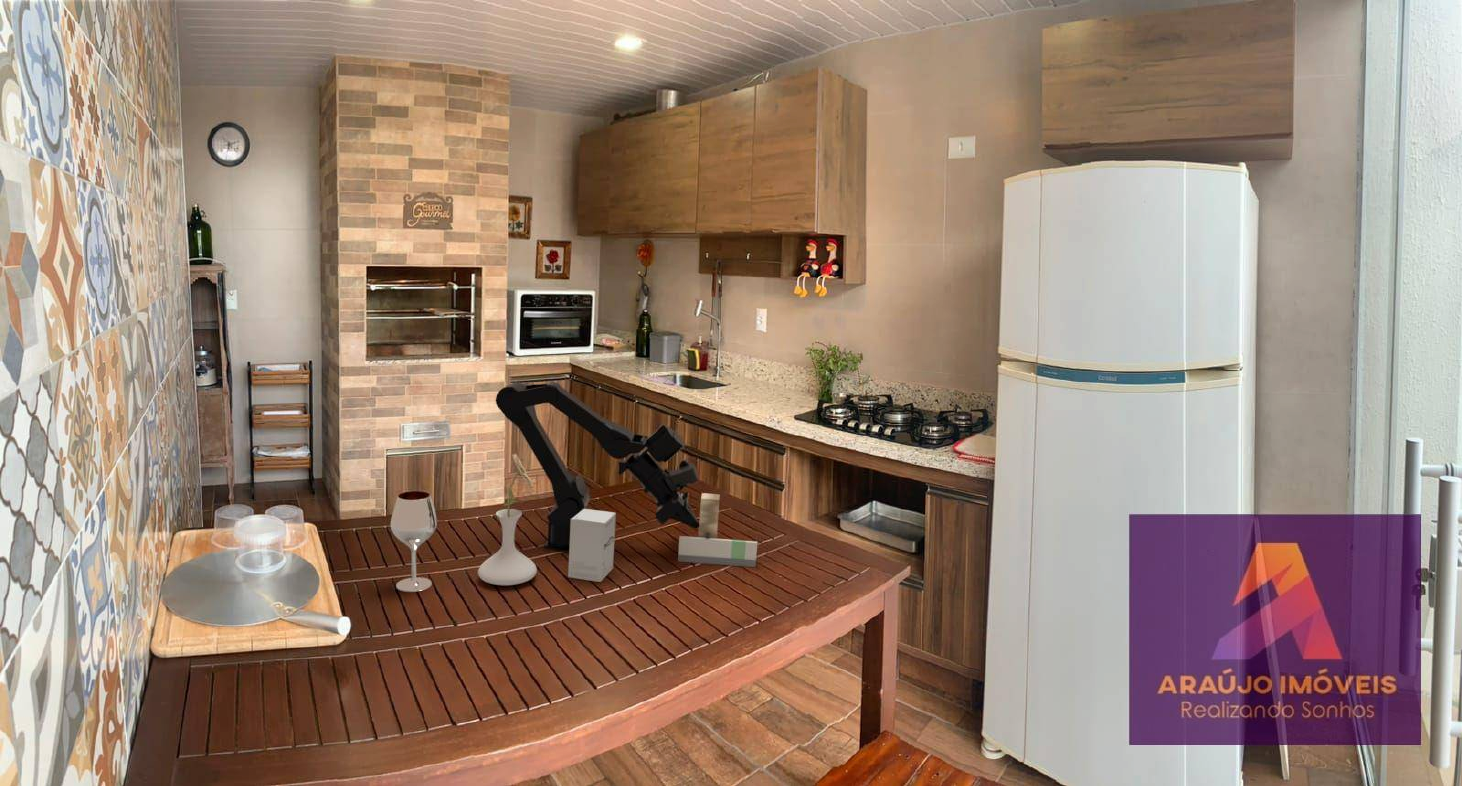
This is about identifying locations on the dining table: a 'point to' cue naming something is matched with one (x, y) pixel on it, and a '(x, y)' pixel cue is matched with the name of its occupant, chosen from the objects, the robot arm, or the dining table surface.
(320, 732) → the dining table surface
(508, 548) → the flower in vase
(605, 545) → the supplement box
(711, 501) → the beige brown box
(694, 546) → the board
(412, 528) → the wineglass
